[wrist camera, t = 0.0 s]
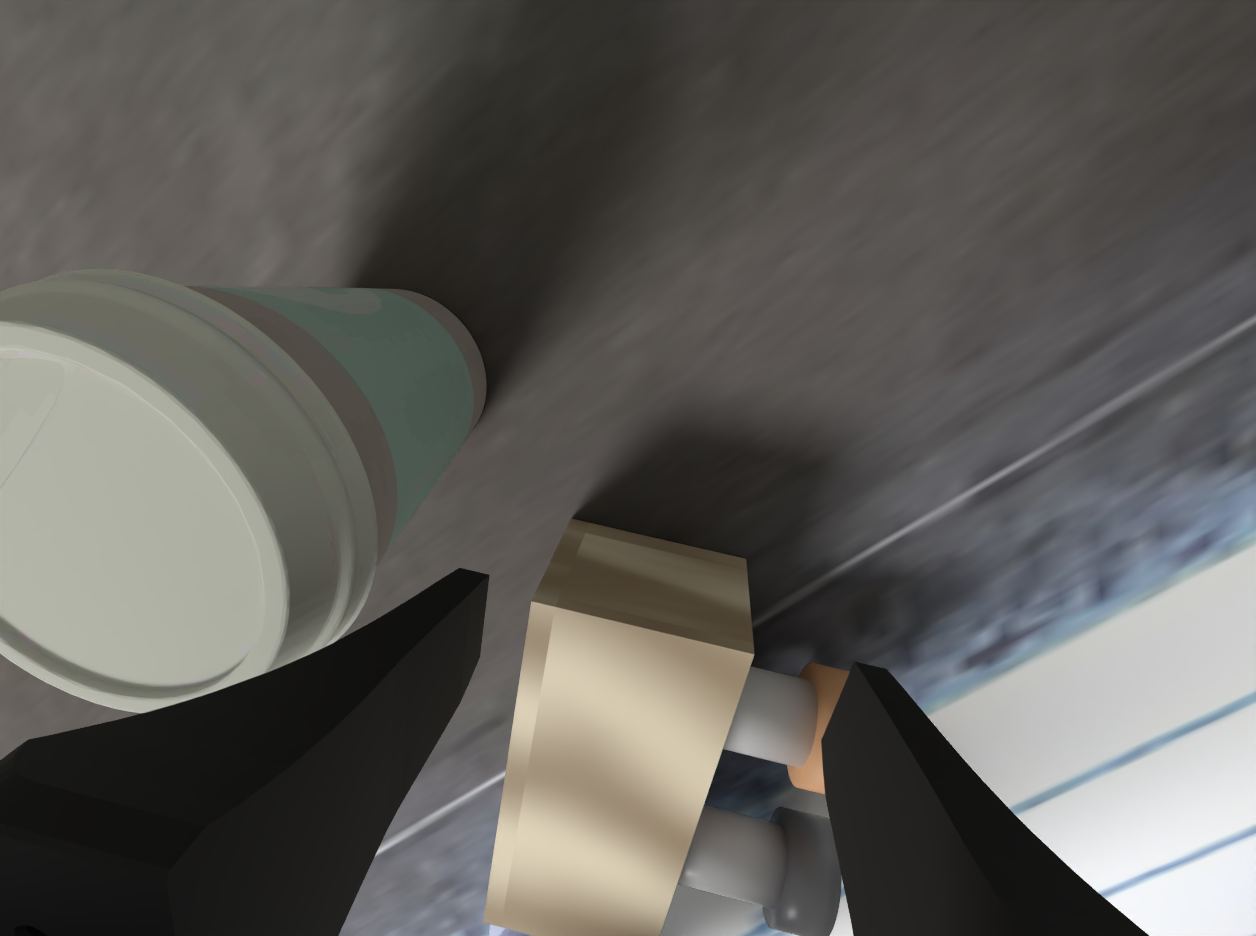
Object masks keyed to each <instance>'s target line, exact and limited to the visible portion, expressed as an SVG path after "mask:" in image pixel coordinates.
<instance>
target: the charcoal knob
mask: <svg viewBox="0 0 1256 936" xmlns="http://www.w3.org/2000/svg"><path fill="white" fill-rule="evenodd" d="M677 884H679V885H683V886H687V887H691V888H695V889H698V890H702V891H706V892H710V893H714V894H718V895H722V896H725V897H729V898H733V899H737V900H741V901H745V902H749V903H753V904H756V905H760V906H762V907H763V913H764V918H765V921H766V923H767V925H768V927H770V928H772V929H776V930H780V931H783V932H787V933H791V934H795V935H799V936H829V935H830V933H831V931H832V929H833V927H834V924H835V921H836V917H837V913H838V908H839V902H840V893H841V870H840V865H839V860H838V856H837V851H836V846H835V841H834V836H833V831H832V826H831V822H830V820H829V819H828V818H824V817H820V816H816V815H812V814H808V813H804V812H800V811H796V810H792V809H788V808H784V807H778V808H777V809H776V810H775V812H774V813H773V815H772V818H771V820H770V821H767V820H763V819H759V818H755V817H751V816H747V815H743V814H739V813H735V812H731V811H727V810H723V809H719V808H715V807H711V806H707V805H704V806H703V809H702V812H701V815H700V818H699V821H698V824H697V827H696V830H695V833H694V836H693V838H692V841H691V844H690V847H689V850H688V853H687V856H686V859H685V862H684V865H683V868H682V871H681V874H680V877H679V880H678V883H677Z"/></svg>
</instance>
